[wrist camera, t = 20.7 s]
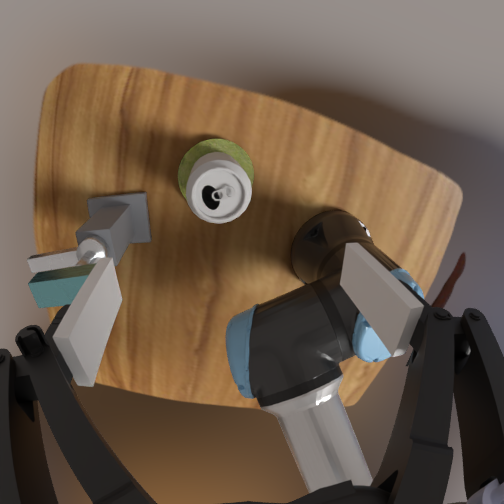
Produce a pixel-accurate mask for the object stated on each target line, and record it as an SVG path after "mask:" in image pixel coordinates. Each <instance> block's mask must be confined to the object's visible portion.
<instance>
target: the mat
mask: <svg viewBox="0 0 504 504" xmlns="http://www.w3.org/2000/svg"><path fill="white" fill-rule="evenodd" d="M213 152H221V153H225V154H228V155H230V156H232V157H233V158H234V159H235V160H236V161H237V162H238V163H239V165H240V166H241V167H242V168H243V170H244V171H245V172H246V174H247V176H248V178H249V180H250V182H251V188H252V185H253V179H254V169H253V165H252V162H251V159H250V158H249V156H248V155H247V153H246V152H245V151H244V150H243V149H242V148H241V147H239V146H238V145H237V144H235V143H233V142H231V141H228V140H224V139H208V140H205V141H202V142H200V143H198V144H196V145H195V146H194V147H192V148H191V149H190V150H189V151H188V152H187V153H186V154H185V155H184V157H183V159H182V160H181V163H180V166H179V170H178V183H179V188H180V190H181V192H182V194H183V196H184V197H185V199H186V200H187V197H186V187H187V182H188V179H189V176H190V173H191V170H192V168H193V166H194V164H195V163H196V162H197V160H198V159H199V158H200V157H202V156H204V155H206V154H208V153H213Z"/></svg>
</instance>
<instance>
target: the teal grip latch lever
mask: <svg viewBox="0 0 504 504" xmlns="http://www.w3.org/2000/svg"><path fill="white" fill-rule="evenodd" d="M108 257H109V247H108V245H107V243H106V242H105V240H104V239H102V238H101V237H99V236H96V235H91V236H88V237H86V238H85V239H84V240H83V241H82V242H81V243H80V245H79V246H78V247H75V248H69V249H64V250H58V251H53V252H48V253H43V254H38V255H33V256H30V257H29V258H28V259H27V261H28V264H29V267H30V269H31V272H32V273H35V272H38V273H37V274H36V275H35V276H34V277H33V278H32V279H31V281H30V282H29V283H28V285H29V287H30V289H31V292H32V294H33V296H34V298H35V301H36V303H37V305H38V307H39V308H44V307H55V306H65V305H66V304H71V303H72V302H73V300H74V298H75V297H76V295H77V293H78V292H79V290H80V289H81V287H82V285H83V284H84V282H85V281H86V279H87V277H88V276H89V274H90V273H91V271H92V270H93V268H94V267H95V265H96V264H97V262H98V261H99V259H100V258H108ZM73 266H75V267H73ZM66 267H69V268H66ZM60 268H62V269H60ZM54 269H56V270H54ZM47 270H49V271H47ZM41 271H43V272H41Z"/></svg>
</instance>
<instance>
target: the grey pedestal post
mask: <svg viewBox="0 0 504 504" xmlns="http://www.w3.org/2000/svg"><path fill="white" fill-rule="evenodd" d="M87 204H88V210H89V216H90V219H89V220H88V221H87V222H86V223H84V224H83V225H82V226H81V227H80V228H79V229H78V230H77V231H76V232H75V233H76V237H77V242H78V246H79V245H80V243H81V242H82V241H83V240H84V239H85V238H86V237H88V236H91V235H96V236H99V237H101V238H102V239H104V240H105V242H106V243H107V245H108V247H109V257H108V258H111V257H112V258H113V263H114V266H117V265H118V263H119V261H120V259H121V258H122V256H123V254H124V252H125V250H126V249H127V247H128V245H129V244H130V243H144V242H151V240H152V237H151V230H150V222H149V214H148V205H147V195H146V192H140V193H129V194H120V195H111V196H103V197H94V198H89V199H88V200H87Z"/></svg>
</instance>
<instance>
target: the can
mask: <svg viewBox="0 0 504 504" xmlns="http://www.w3.org/2000/svg"><path fill="white" fill-rule="evenodd" d="M251 194H252V188H251V182H250V180H249V178H248V176H247V174H246V172H245V171H244V170H243V168H242V167H241V166H240V165H239V163H238V162H237V161H236V160H235V159H234V158H233V157H232V156H230V155H228V154H225V153H221V152H213V153H208V154H206V155H204V156H202V157H200V158H199V159H198V160H197V162H196V163H195V164H194V166H193V168H192V170H191V173H190V176H189V179H188V182H187V187H186V197H187V202H188V205H189V206H190V208H191V210H192V211H193V213H194V214H196V215H197V216H198V217H199V218H200V219H202V220H205V221H207V222H210V223H219V224H220V223H225V222H230V221H232V220H234V219H236V218H237V217H239V216H240V215H241V214H242V213H243V212H244V211H245V210H246V208H247V206H248V204H249V202H250V200H251Z"/></svg>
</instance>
